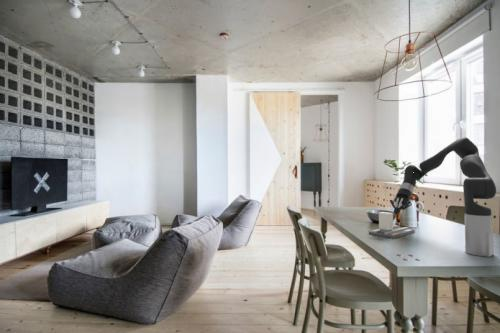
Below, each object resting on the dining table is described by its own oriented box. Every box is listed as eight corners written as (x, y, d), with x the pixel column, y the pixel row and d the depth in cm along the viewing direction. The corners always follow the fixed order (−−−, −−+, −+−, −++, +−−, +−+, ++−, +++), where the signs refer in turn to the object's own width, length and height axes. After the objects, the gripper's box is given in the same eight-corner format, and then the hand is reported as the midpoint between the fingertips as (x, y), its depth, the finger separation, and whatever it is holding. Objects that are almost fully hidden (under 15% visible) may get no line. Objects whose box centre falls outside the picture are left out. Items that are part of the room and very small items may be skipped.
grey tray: (414, 232, 166) (414, 228, 166) (392, 238, 152) (392, 233, 152) (390, 228, 178) (390, 224, 178) (368, 233, 164) (368, 229, 164)
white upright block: (393, 232, 160) (393, 212, 160) (388, 233, 158) (388, 213, 158) (383, 230, 165) (383, 211, 165) (378, 231, 162) (378, 212, 163)
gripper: (418, 196, 171) (409, 219, 164) (397, 195, 182) (387, 216, 175) (414, 188, 168) (404, 210, 161) (392, 187, 179) (382, 208, 172)
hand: (395, 213), depth 168 cm, fingers closed
